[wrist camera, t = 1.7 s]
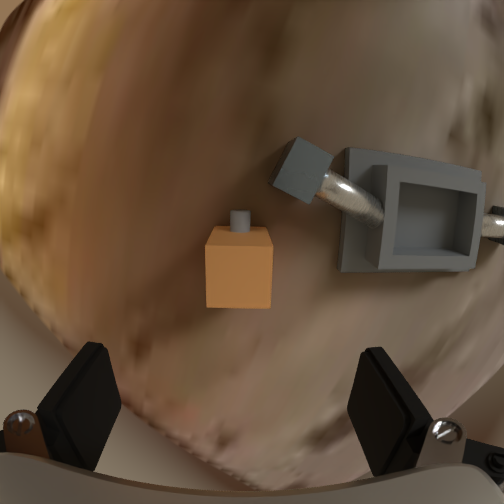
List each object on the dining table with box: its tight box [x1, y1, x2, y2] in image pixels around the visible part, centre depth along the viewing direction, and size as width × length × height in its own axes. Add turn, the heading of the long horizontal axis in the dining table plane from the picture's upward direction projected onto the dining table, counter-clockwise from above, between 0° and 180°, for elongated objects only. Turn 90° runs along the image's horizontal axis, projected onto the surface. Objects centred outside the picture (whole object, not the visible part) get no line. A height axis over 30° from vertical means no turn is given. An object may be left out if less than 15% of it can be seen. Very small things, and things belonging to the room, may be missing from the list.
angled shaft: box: [268, 137, 384, 229], centre depth 23 cm, size 9×4×4 cm, turn 64°
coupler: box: [205, 210, 273, 308], centre depth 24 cm, size 4×8×7 cm, turn 179°
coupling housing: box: [337, 147, 486, 273], centre depth 24 cm, size 11×16×4 cm
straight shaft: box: [481, 206, 504, 245], centre depth 25 cm, size 9×4×4 cm, turn 89°
